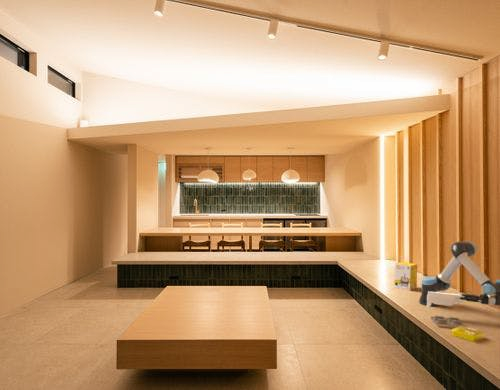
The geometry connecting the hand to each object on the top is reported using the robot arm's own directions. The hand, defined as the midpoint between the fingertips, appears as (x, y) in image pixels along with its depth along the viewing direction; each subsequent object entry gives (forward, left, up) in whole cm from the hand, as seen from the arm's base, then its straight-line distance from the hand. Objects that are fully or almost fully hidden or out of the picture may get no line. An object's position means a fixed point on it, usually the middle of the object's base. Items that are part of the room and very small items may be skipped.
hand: (454, 296), depth 281 cm
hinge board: (+18, -9, -16) cm, 26 cm away
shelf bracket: (+1, -7, -8) cm, 10 cm away
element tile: (+41, -5, -17) cm, 45 cm away
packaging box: (-92, -16, -17) cm, 95 cm away
